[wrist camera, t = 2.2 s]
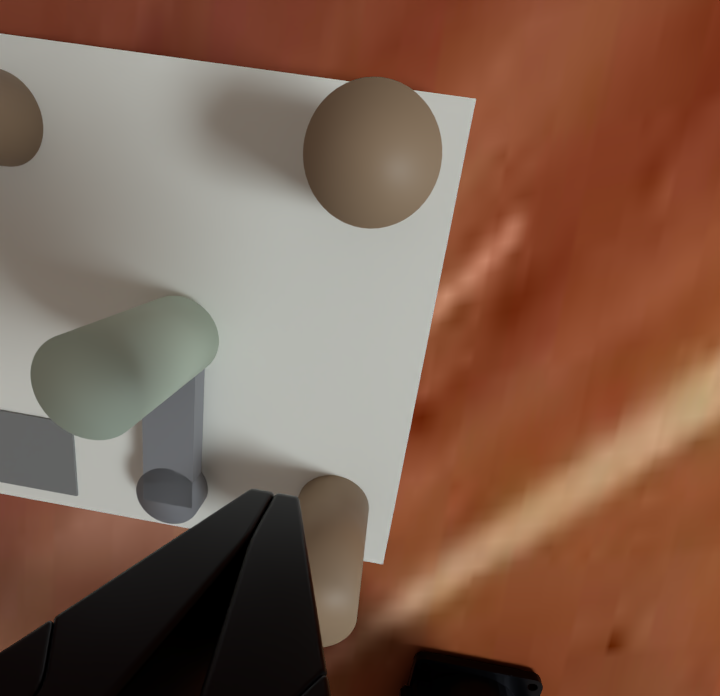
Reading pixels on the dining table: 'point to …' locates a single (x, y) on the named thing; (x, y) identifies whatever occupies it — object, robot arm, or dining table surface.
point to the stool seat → (230, 274)
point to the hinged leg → (138, 393)
